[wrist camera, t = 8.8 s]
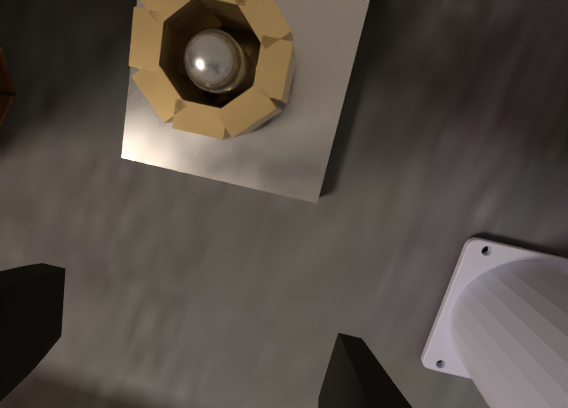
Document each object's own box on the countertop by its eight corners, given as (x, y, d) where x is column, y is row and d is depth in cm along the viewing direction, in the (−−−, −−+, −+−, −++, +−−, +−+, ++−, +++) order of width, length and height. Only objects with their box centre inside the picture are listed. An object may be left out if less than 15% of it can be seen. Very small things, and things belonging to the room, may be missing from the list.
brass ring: (305, 15, 14) (305, -18, 10) (279, 143, 15) (271, 150, 12) (180, -12, 14) (139, -55, 10) (164, 117, 15) (123, 117, 12)
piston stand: (370, -12, 15) (412, -95, 9) (316, 198, 18) (321, 239, 12) (154, -62, 15) (58, -175, 9) (131, 155, 18) (44, 174, 12)
